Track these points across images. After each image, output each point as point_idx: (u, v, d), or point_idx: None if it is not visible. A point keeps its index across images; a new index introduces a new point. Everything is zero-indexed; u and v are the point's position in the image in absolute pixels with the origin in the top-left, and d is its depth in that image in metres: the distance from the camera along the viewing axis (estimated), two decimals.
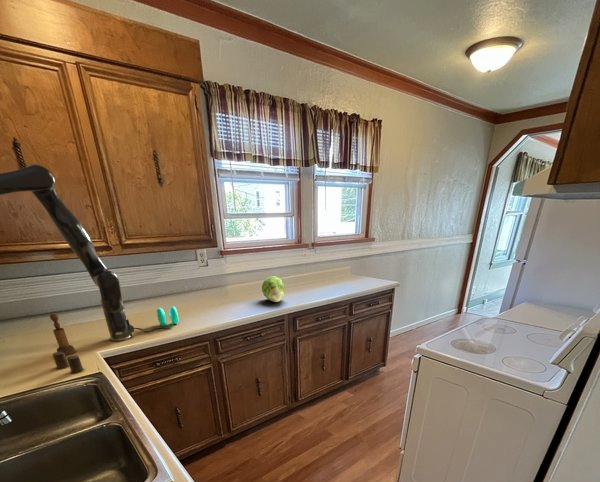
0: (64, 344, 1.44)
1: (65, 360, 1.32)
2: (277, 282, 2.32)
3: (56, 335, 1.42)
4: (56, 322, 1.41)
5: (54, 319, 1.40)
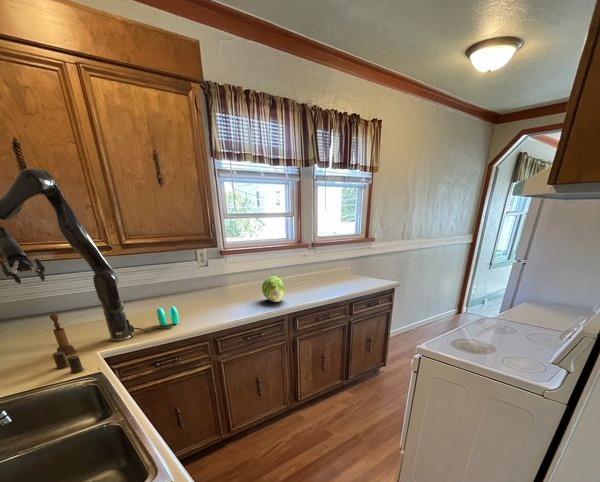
0: (64, 344, 1.44)
1: (65, 360, 1.32)
2: (277, 282, 2.32)
3: (56, 335, 1.42)
4: (56, 322, 1.41)
5: (54, 319, 1.40)
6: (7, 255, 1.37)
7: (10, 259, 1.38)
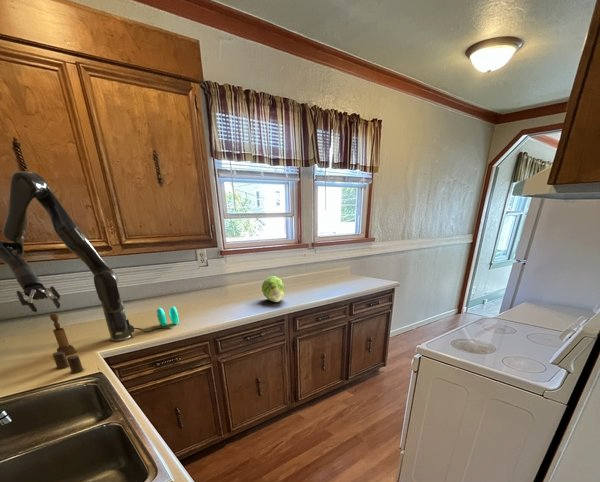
0: (64, 344, 1.44)
1: (65, 360, 1.32)
2: (277, 282, 2.32)
3: (56, 335, 1.42)
4: (56, 322, 1.41)
5: (54, 319, 1.40)
6: (24, 284, 1.38)
7: (26, 288, 1.39)
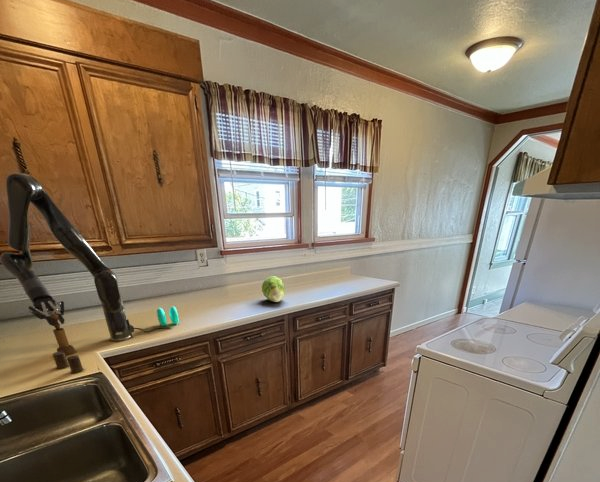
0: (64, 344, 1.44)
1: (65, 360, 1.32)
2: (277, 282, 2.32)
3: (56, 335, 1.42)
4: (56, 322, 1.41)
5: (54, 319, 1.40)
6: (33, 297, 1.37)
7: (35, 301, 1.38)
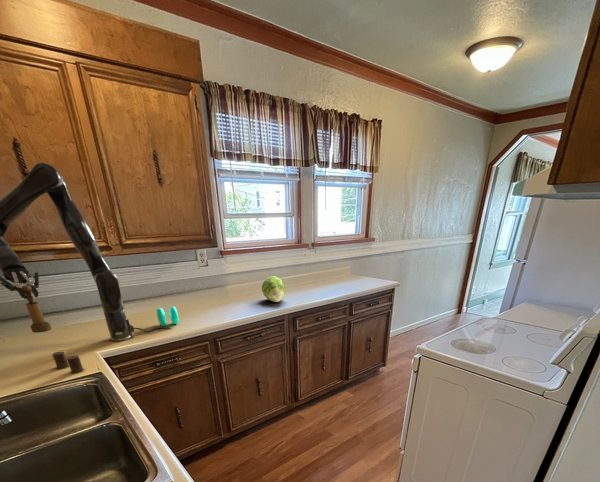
0: (38, 320, 1.31)
1: (65, 360, 1.32)
2: (277, 282, 2.32)
3: (29, 309, 1.28)
4: (28, 295, 1.27)
5: (26, 291, 1.26)
6: (3, 266, 1.24)
7: (6, 270, 1.24)
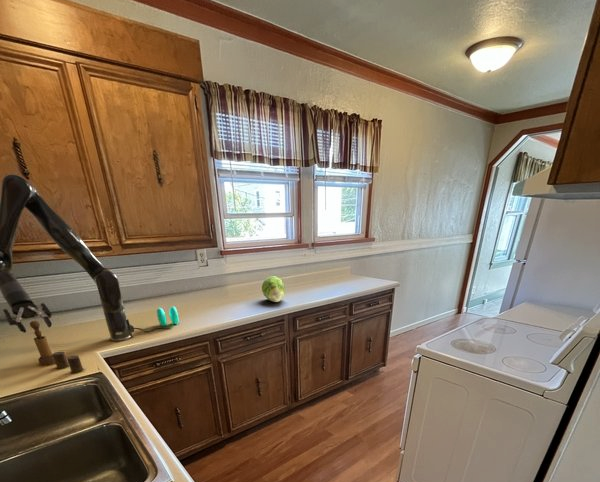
0: (46, 353, 1.34)
1: (65, 360, 1.32)
2: (277, 282, 2.32)
3: (37, 344, 1.32)
4: (36, 330, 1.31)
5: (35, 327, 1.29)
6: (11, 302, 1.27)
7: (14, 306, 1.28)
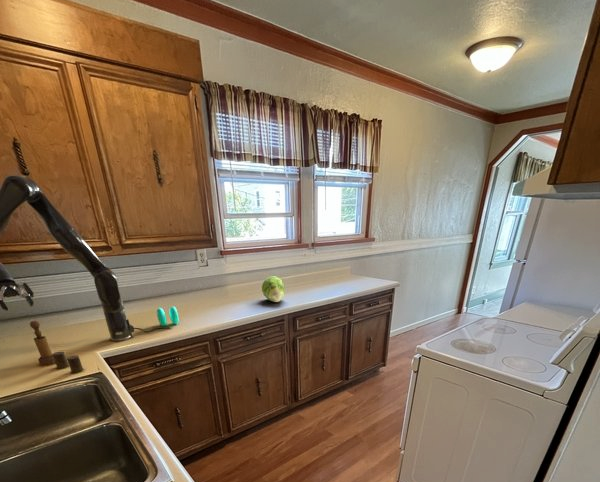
0: (46, 353, 1.34)
1: (65, 360, 1.32)
2: (277, 282, 2.32)
3: (37, 344, 1.32)
4: (36, 330, 1.31)
5: (35, 327, 1.29)
6: None
7: None
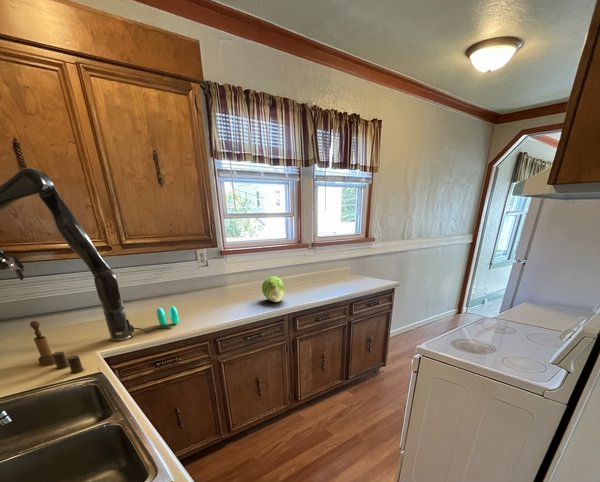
0: (46, 353, 1.34)
1: (65, 360, 1.32)
2: (277, 282, 2.32)
3: (37, 344, 1.32)
4: (36, 330, 1.31)
5: (35, 327, 1.29)
6: None
7: None
